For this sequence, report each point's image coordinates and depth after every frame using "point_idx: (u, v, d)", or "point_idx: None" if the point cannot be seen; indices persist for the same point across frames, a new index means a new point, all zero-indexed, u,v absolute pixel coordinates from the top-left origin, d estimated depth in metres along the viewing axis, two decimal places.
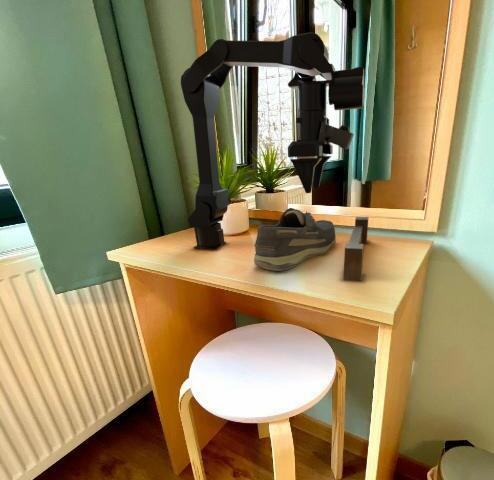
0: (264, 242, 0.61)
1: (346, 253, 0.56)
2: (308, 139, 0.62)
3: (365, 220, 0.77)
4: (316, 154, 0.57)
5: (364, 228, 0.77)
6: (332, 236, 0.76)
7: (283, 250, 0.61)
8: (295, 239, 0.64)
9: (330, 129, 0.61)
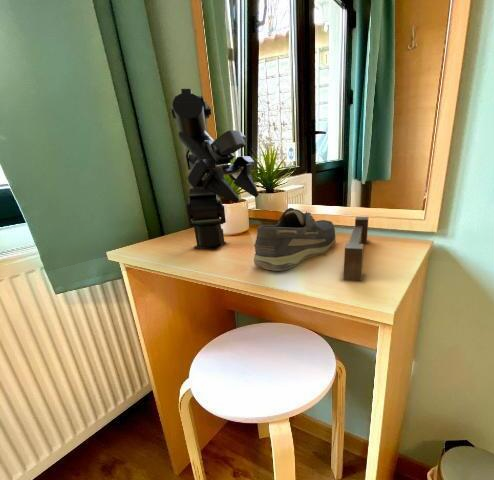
0: (264, 242, 0.61)
1: (346, 253, 0.56)
2: None
3: (365, 220, 0.77)
4: (204, 167, 0.59)
5: (364, 228, 0.77)
6: (332, 236, 0.76)
7: (283, 250, 0.61)
8: (295, 239, 0.64)
9: (215, 143, 0.64)
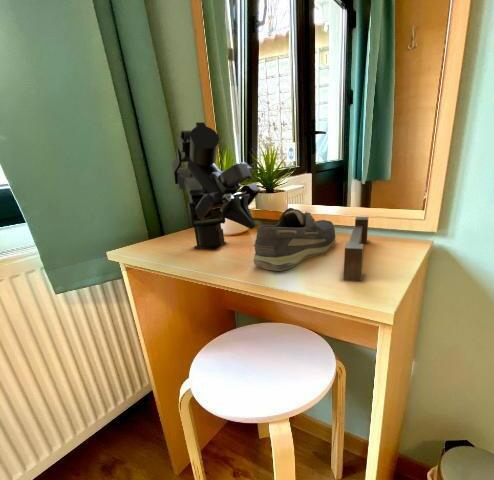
0: (264, 242, 0.61)
1: (346, 253, 0.56)
2: None
3: (365, 220, 0.77)
4: (211, 201, 0.61)
5: (364, 228, 0.77)
6: (332, 236, 0.76)
7: (283, 250, 0.61)
8: (295, 239, 0.64)
9: (222, 176, 0.66)
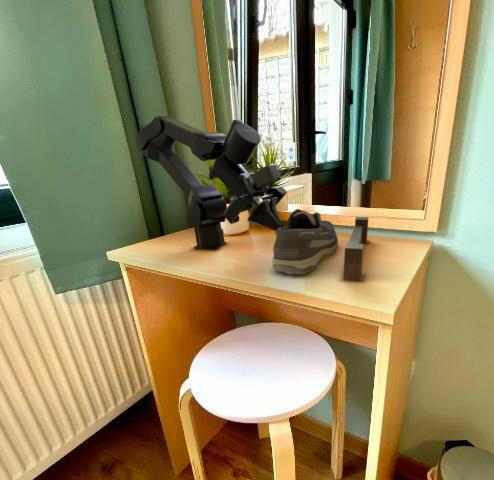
0: (287, 245, 0.58)
1: (346, 253, 0.56)
2: None
3: (365, 220, 0.77)
4: (243, 204, 0.58)
5: (364, 228, 0.77)
6: (336, 236, 0.76)
7: (306, 252, 0.60)
8: (314, 240, 0.62)
9: (251, 178, 0.63)
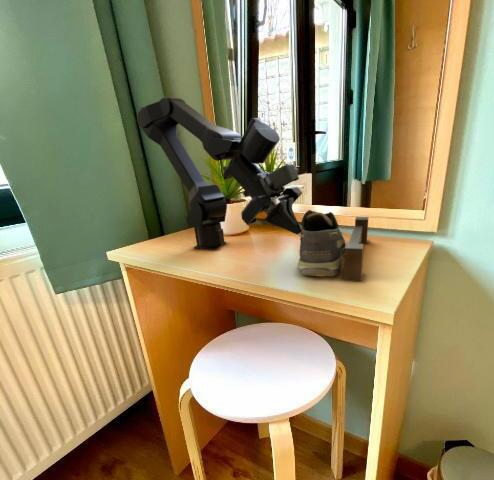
0: (320, 247, 0.56)
1: (346, 253, 0.56)
2: None
3: (365, 220, 0.77)
4: (261, 205, 0.57)
5: (364, 228, 0.77)
6: None
7: (336, 253, 0.58)
8: (338, 241, 0.62)
9: (268, 178, 0.62)
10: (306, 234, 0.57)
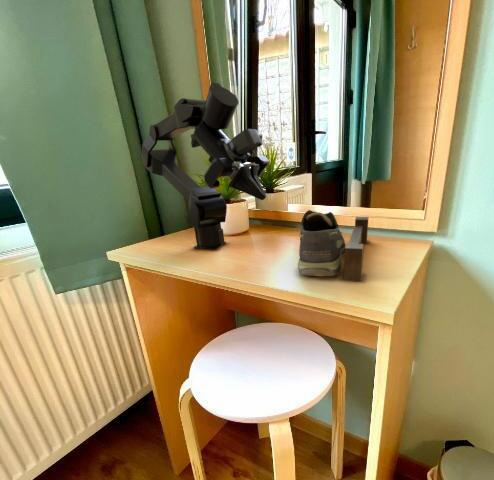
0: (320, 247, 0.56)
1: (346, 253, 0.56)
2: None
3: (365, 220, 0.77)
4: (221, 166, 0.58)
5: (364, 228, 0.77)
6: None
7: (336, 253, 0.58)
8: (337, 241, 0.62)
9: (231, 142, 0.63)
10: (306, 234, 0.57)
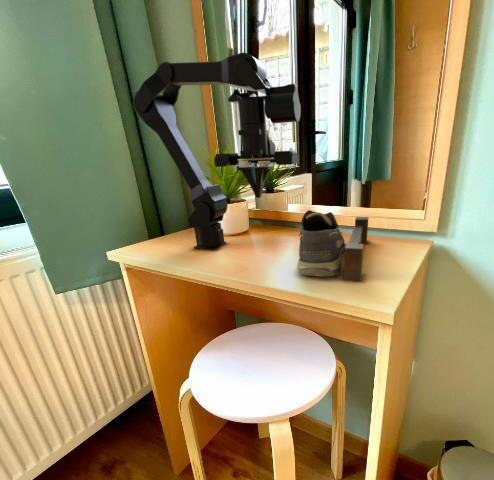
0: (320, 247, 0.56)
1: (346, 253, 0.56)
2: (266, 150, 0.68)
3: (365, 220, 0.77)
4: None
5: (364, 228, 0.77)
6: None
7: (336, 253, 0.58)
8: (337, 241, 0.62)
9: None
10: (306, 234, 0.57)
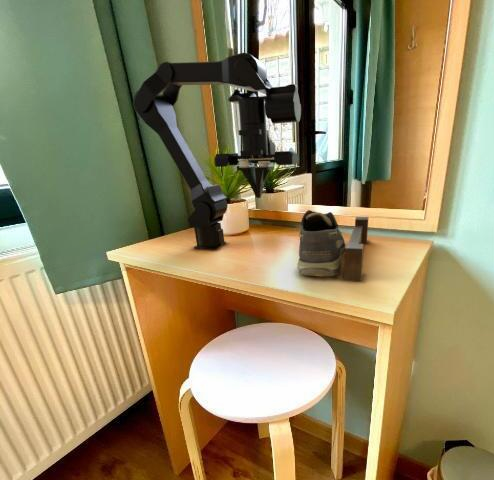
0: (320, 247, 0.56)
1: (346, 253, 0.56)
2: (266, 150, 0.68)
3: (365, 220, 0.77)
4: None
5: (364, 228, 0.77)
6: None
7: (336, 253, 0.58)
8: (337, 241, 0.62)
9: (270, 142, 0.71)
10: (305, 234, 0.57)
